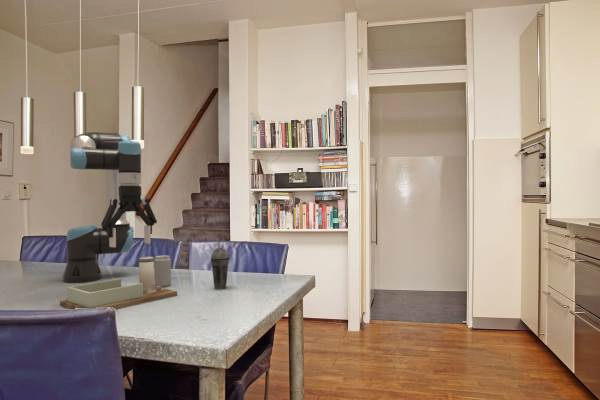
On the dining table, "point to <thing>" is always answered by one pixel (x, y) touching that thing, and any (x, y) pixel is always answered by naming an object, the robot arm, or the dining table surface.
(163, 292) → the board
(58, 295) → the dining table surface
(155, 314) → the dining table surface
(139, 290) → the pale green open frame
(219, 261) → the beverage cup
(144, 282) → the beige rounded cylinder
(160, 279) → the beverage can
